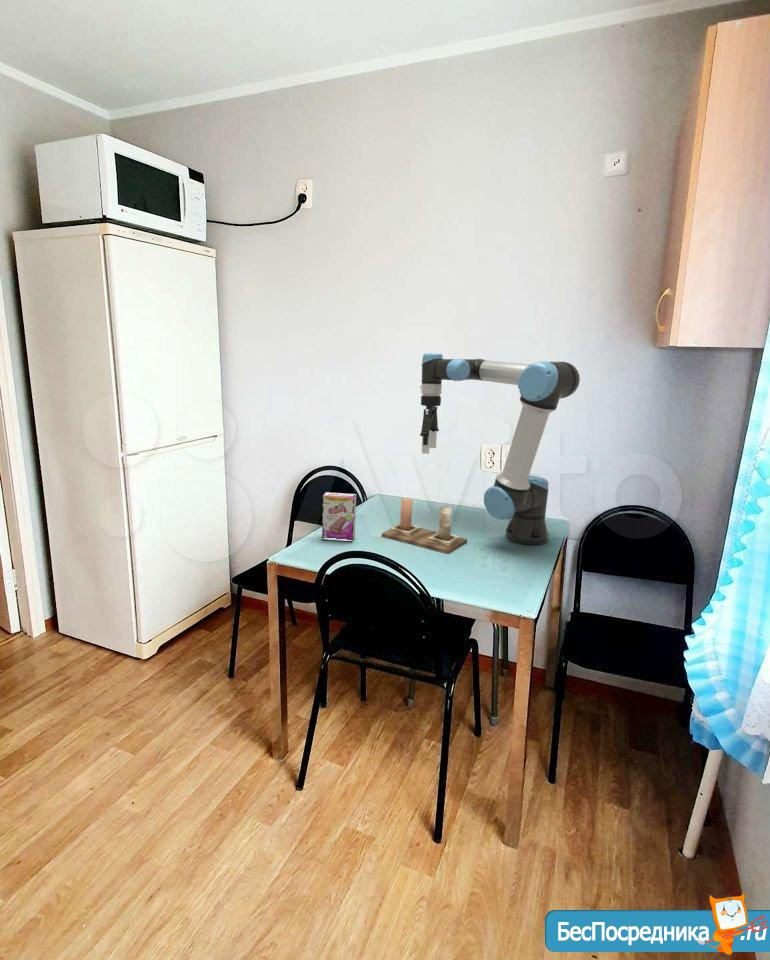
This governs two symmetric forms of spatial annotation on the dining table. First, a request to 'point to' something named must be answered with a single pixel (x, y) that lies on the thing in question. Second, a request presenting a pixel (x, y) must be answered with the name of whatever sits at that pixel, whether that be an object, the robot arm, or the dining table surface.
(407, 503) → the peg
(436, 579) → the dining table surface
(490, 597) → the dining table surface
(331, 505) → the candy bar box
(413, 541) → the board
